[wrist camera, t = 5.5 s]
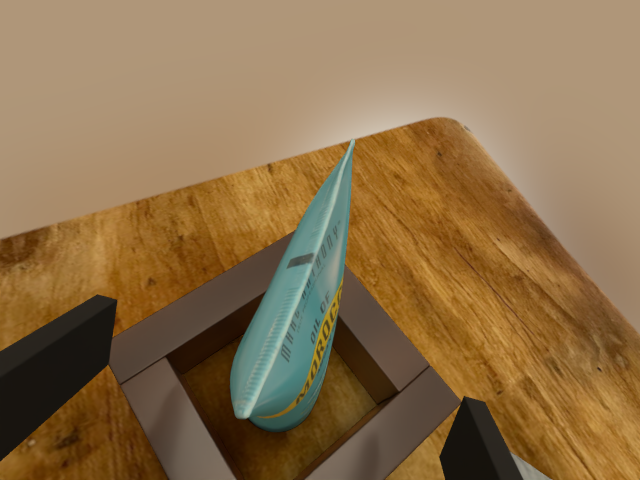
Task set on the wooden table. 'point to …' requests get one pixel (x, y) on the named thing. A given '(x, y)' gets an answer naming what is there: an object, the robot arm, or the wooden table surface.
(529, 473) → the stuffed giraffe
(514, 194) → the wooden table surface
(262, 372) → the tube
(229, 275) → the square wooden frame
